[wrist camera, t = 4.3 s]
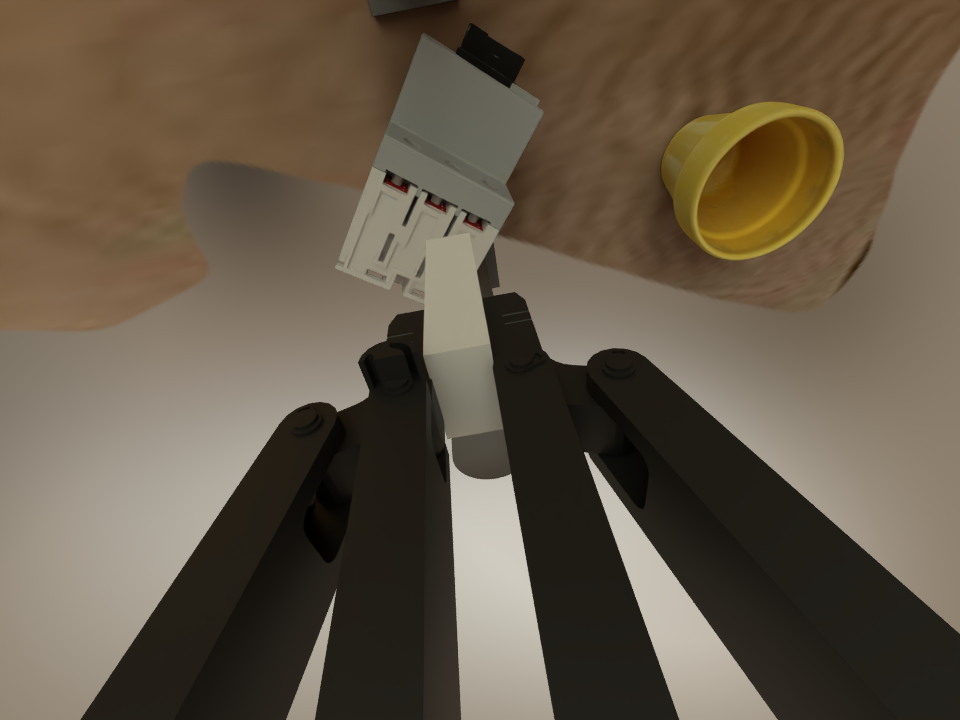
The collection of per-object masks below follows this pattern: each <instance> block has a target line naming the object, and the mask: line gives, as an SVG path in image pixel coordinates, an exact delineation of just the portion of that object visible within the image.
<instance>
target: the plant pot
mask: <svg viewBox="0 0 960 720" xmlns="http://www.w3.org/2000/svg"><path fill="white" fill-rule="evenodd" d="M843 159H844V145H843V139H842V136H841V133H840V131H839V129H838V127H837V126H836V124H835V123H834V122H833V121H832V120H831V119H830V118H829V117H828V116H826V115H825V114H823V113H821V112H819V111H817V110H814V109H811V108H807V107H803V106H799V105H794V104H788V103H781V102H761V103H756V104H752V105H749V106H746V107H743V108H741V109H739V110H737V111H735V112H733V113H726V114H715V115H706V116H702V117H699V118H697V119H694V120H693V121H691V122H689V123H688V124H686V125H685V126H684V127H682V128H681V129H680V130H679V131H678V132H677V133H676V134H675V136H674V137H673V138H672V139H671V141H670V143H669V144H668V146H667V148H666V150H665V153H664V155H663V159H662V164H661V175H662V179H663V182H664V184H665V186H666V188H667V190H668V191H669V193H670V195H671V197H672V199H673V206H674V212H675V216H676V219H677V221H678V223H679V225H680V227H681V228H682V230H683V231H684V232H685V233H686V234H687V236H688V237H689V238H691V239H692V240H693V241H694V242H695V243H696V244H697V245H698V246H699V247H700V248H702V249H703V250H704V251H706V252H707V253H709V254H710V255H712V256H714V257H717V258H720V259H725V260H746V259H752V258H755V257H759V256H762V255H765V254H767V253H769V252H772V251H774V250H776V249H778V248H779V247H781V246H783V245H785V244H786V243H788V242H789V241H791V240H792V239H793V238H795V237H796V236H797V235H799V234H800V233H801V232H802V231H803V230H804V229H806V228H807V227H808V226H809V225H810V224H811V223H812V222H813V221H814V219H815V218H816V217H817V216H818V215H819V213H820V212H821V211H822V209H823V208H824V207H825V205H826V204H827V202H828V201H829V199H830V197H831V195H832V194H833V192H834V189H835V187H836V185H837V183H838V180H839V178H840V175H841V171H842V167H843Z"/></svg>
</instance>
